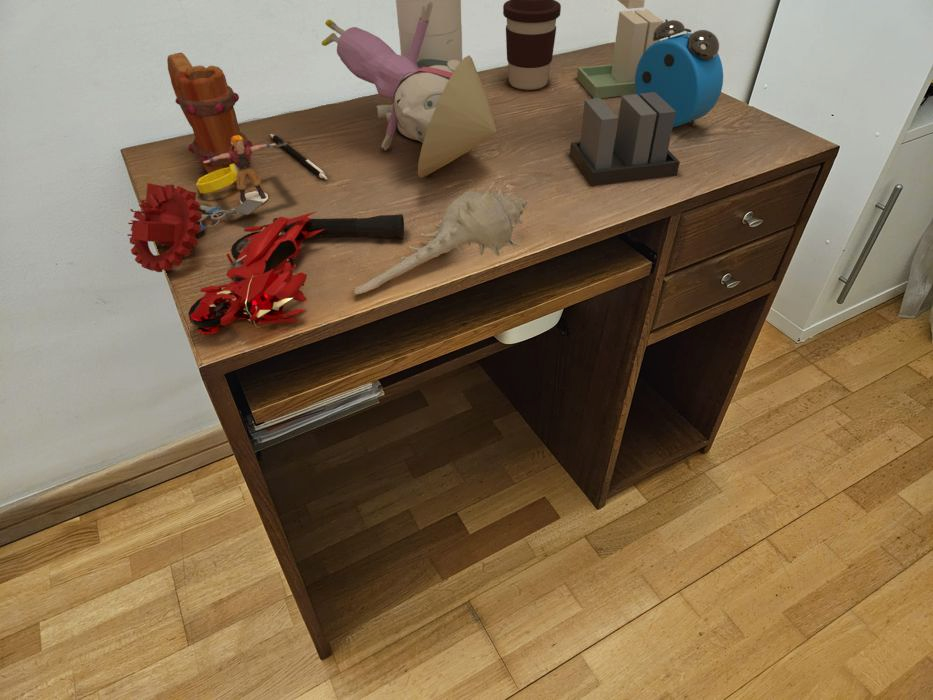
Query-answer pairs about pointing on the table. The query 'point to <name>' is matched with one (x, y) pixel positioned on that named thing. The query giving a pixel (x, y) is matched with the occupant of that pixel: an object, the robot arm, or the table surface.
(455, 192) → the table surface
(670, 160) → the grey tray
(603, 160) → the grey books
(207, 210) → the key chain
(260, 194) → the action figure
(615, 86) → the green tray
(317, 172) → the pen
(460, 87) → the figurine
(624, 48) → the white books
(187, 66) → the mug
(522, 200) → the seashell
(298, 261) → the table surface
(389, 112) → the robot arm
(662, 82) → the alarm clock
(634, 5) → the white box
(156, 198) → the red toothed ring
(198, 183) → the yellow curved hollow piece
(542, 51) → the coffee cup
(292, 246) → the toy motorcycle
